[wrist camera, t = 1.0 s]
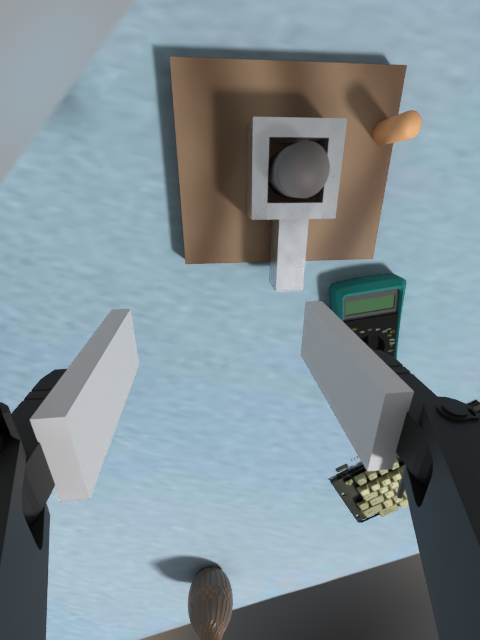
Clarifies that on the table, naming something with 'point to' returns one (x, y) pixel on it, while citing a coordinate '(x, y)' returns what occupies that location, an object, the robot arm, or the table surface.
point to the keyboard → (373, 488)
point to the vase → (210, 603)
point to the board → (226, 150)
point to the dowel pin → (397, 128)
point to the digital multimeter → (371, 309)
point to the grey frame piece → (291, 215)
